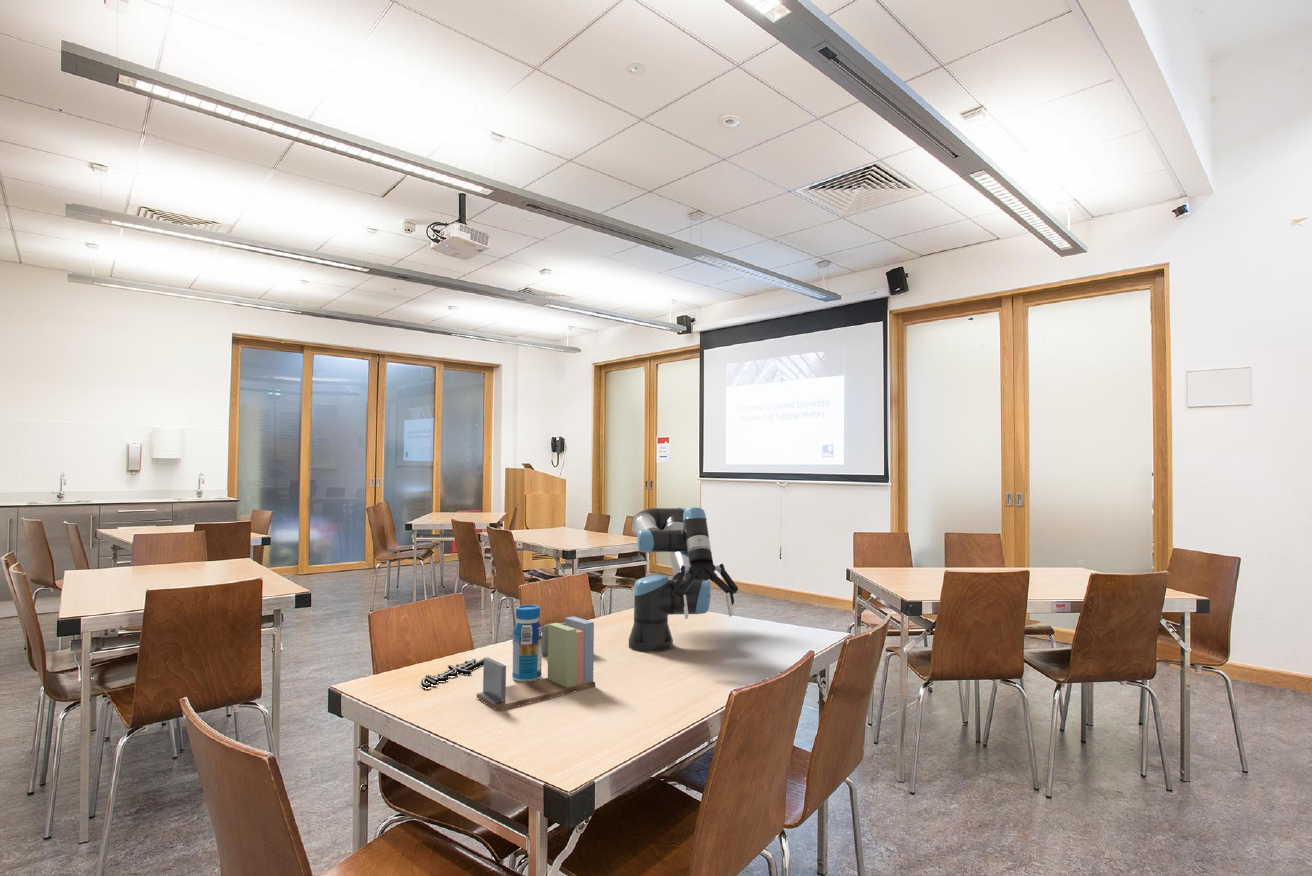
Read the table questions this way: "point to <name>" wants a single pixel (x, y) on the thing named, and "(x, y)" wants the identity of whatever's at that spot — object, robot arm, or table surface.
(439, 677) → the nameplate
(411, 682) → the table surface
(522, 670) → the beverage bottle
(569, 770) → the table surface
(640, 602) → the robot arm
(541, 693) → the shelf board
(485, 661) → the bookend
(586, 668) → the book row
